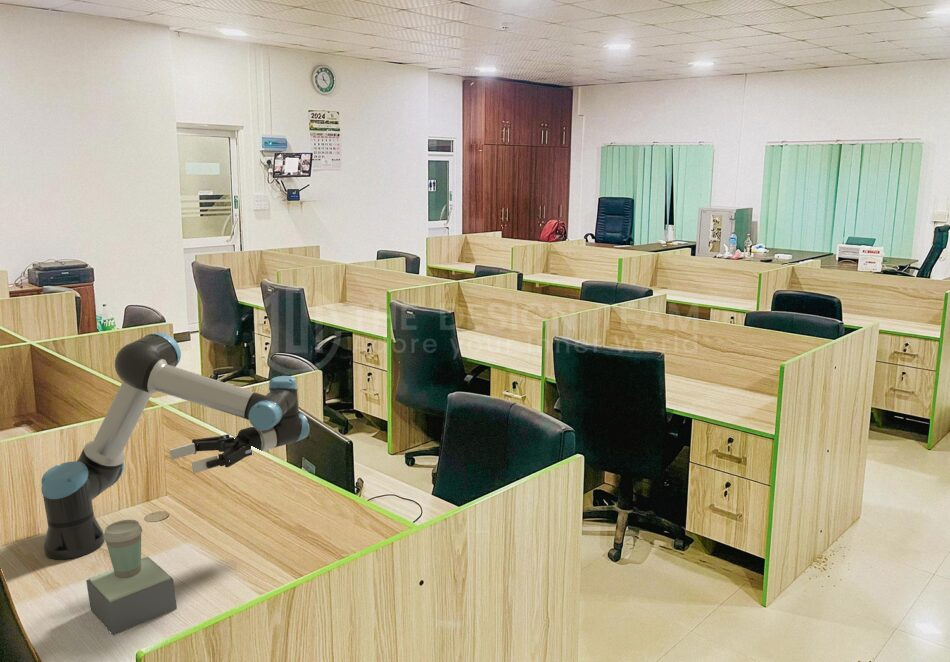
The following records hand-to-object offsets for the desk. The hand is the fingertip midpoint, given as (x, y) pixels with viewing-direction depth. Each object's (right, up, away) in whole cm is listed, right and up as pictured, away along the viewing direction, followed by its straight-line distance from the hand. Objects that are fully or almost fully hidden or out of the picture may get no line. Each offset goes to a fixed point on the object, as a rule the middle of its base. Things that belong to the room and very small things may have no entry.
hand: (181, 461), depth 200 cm
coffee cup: (-8, -25, -12) cm, 29 cm away
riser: (-7, -34, -13) cm, 37 cm away
